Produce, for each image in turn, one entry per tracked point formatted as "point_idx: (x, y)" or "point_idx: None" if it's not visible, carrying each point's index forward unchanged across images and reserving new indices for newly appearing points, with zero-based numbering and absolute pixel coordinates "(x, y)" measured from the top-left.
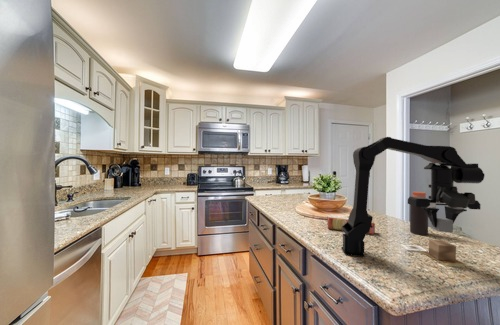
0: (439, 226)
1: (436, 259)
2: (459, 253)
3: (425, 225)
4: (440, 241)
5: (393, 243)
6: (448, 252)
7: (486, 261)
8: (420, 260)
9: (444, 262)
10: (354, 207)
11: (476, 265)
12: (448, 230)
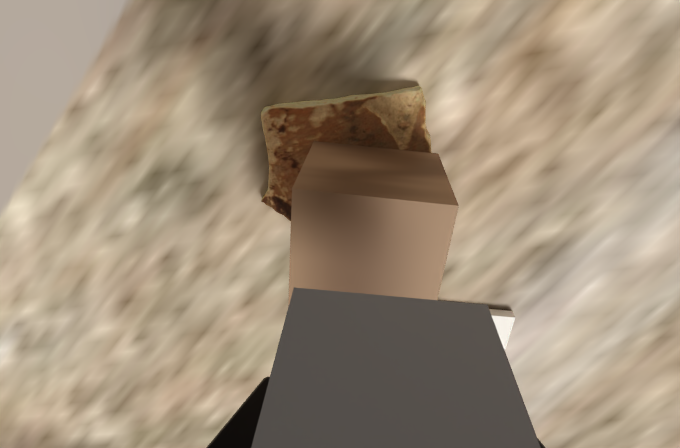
0: (507, 369)
1: None
2: (157, 307)
3: None
4: None
5: None
6: (362, 170)
7: (58, 210)
8: (555, 163)
9: (417, 116)
10: None
11: (170, 136)
12: (354, 310)
